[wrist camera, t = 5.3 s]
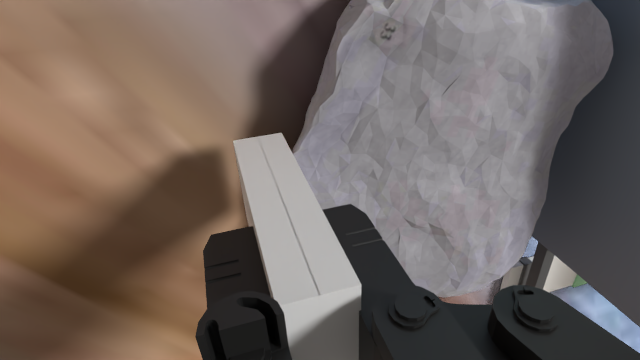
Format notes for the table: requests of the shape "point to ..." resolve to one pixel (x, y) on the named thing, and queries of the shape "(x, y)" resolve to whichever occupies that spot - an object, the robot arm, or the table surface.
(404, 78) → the stone block
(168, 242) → the table surface
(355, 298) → the robot arm
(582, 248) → the gauge plate
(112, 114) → the table surface
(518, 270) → the pale flat strip
